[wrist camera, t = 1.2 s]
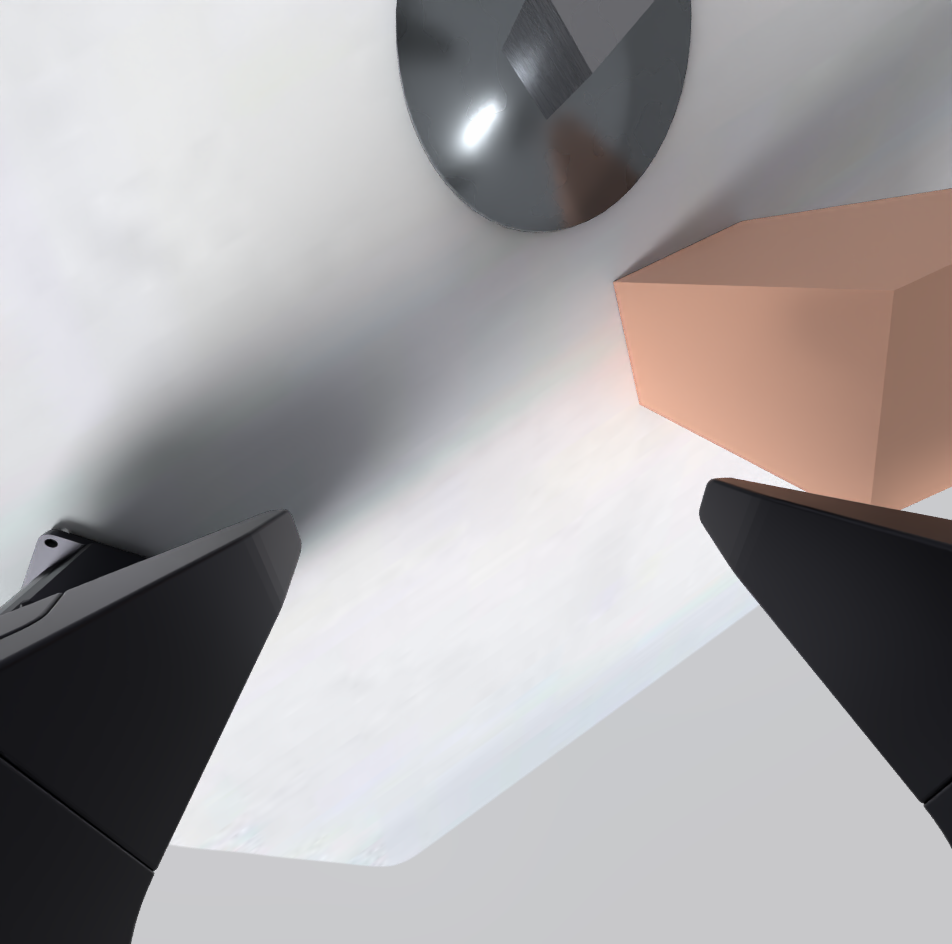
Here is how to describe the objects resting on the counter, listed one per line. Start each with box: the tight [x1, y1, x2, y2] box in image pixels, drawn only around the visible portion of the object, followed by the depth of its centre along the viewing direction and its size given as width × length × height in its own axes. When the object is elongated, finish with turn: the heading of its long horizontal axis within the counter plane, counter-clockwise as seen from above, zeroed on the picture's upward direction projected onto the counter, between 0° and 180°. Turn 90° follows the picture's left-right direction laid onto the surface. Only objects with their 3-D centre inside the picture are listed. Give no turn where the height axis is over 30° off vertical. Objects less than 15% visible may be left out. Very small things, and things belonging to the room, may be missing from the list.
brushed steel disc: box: [396, 0, 691, 232], centre depth 13 cm, size 11×11×4 cm
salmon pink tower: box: [613, 188, 952, 510], centre depth 15 cm, size 7×7×12 cm
